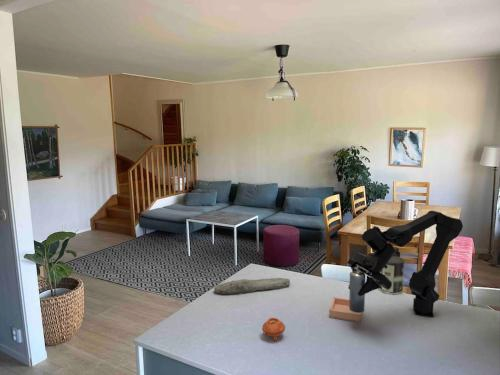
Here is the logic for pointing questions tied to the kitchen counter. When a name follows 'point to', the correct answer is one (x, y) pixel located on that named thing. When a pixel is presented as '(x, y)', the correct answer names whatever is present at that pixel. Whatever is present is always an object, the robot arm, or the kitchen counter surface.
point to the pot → (273, 327)
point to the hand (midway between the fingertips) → (353, 292)
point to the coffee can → (394, 275)
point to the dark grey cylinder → (356, 292)
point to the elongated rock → (251, 285)
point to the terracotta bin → (343, 310)
